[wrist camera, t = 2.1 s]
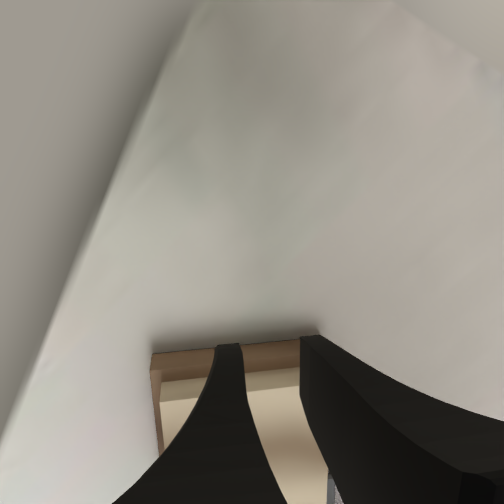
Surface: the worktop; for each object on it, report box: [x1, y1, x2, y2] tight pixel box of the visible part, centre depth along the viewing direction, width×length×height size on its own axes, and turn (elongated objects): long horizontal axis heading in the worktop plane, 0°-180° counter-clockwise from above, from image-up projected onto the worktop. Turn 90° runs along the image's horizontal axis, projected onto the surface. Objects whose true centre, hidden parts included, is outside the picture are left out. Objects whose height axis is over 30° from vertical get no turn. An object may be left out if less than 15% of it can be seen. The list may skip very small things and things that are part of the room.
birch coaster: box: [159, 367, 328, 504], centre depth 20 cm, size 8×8×2 cm
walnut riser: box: [150, 339, 300, 457], centre depth 21 cm, size 9×9×2 cm
